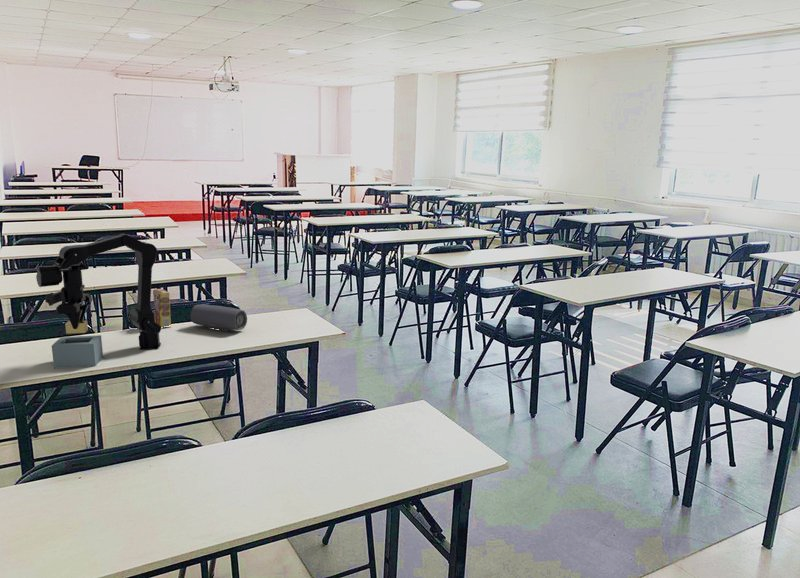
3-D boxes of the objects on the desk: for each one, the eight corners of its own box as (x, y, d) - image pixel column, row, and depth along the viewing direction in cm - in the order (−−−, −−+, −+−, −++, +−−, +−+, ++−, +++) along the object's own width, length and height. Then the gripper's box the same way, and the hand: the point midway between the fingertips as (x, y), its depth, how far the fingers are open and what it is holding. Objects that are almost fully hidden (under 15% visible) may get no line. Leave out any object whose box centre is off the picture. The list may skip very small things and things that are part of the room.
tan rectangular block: (87, 330, 211) (87, 320, 210) (85, 332, 208) (84, 323, 207) (69, 330, 210) (68, 321, 209) (66, 333, 206) (65, 323, 206)
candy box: (172, 327, 254) (169, 292, 251) (161, 328, 252) (159, 293, 248) (165, 322, 261) (162, 288, 258) (154, 324, 258) (152, 289, 255)
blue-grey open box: (103, 356, 216) (101, 335, 214) (95, 365, 207) (93, 343, 205) (63, 358, 213) (61, 337, 212) (54, 368, 204) (51, 345, 202)
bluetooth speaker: (248, 329, 253) (247, 306, 250) (234, 335, 244) (233, 311, 242) (205, 323, 261) (203, 301, 259) (190, 329, 253) (188, 305, 250)
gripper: (56, 278, 213) (60, 321, 216) (36, 289, 195) (41, 335, 198) (90, 278, 215) (94, 320, 218) (74, 288, 197) (78, 334, 200)
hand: (77, 327), depth 208 cm, fingers closed on tan rectangular block, 3 cm apart
